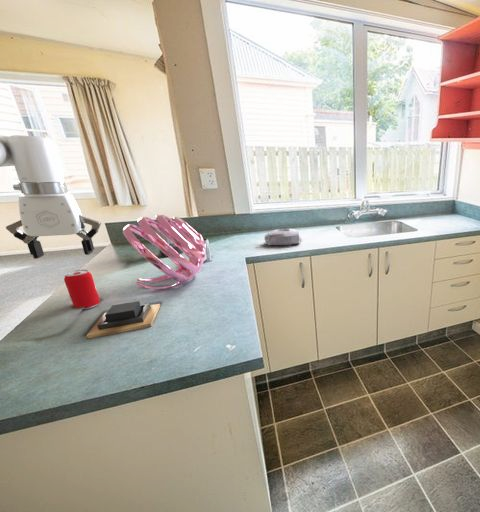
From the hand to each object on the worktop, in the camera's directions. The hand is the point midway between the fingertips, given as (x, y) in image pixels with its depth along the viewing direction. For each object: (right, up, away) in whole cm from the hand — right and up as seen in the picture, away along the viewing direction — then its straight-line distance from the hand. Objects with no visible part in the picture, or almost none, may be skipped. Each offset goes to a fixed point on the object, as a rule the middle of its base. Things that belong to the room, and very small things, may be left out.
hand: (64, 255), depth 78 cm
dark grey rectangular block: (+8, -19, +10) cm, 23 cm away
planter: (0, -3, +63) cm, 63 cm away
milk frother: (-26, +2, +75) cm, 79 cm away
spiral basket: (+3, -11, +38) cm, 40 cm away
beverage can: (-12, -17, +19) cm, 28 cm away
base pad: (+8, -20, +10) cm, 24 cm away
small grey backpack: (+26, +7, +94) cm, 98 cm away
